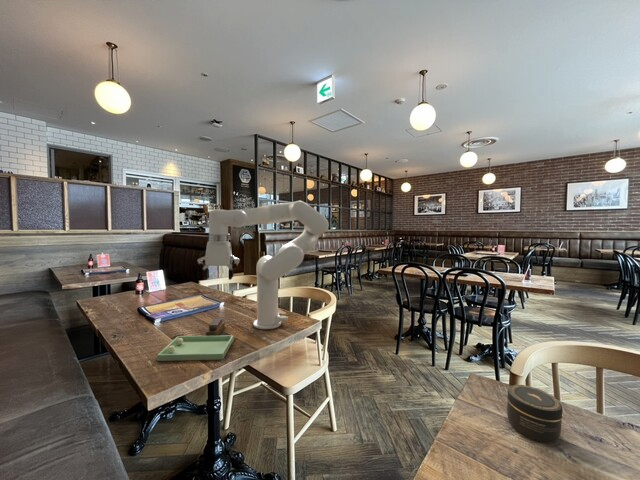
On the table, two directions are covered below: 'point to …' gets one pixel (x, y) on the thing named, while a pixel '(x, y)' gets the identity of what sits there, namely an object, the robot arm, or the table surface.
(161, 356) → the tray
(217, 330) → the stepped brown post
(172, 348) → the crumb
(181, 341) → the crumb
